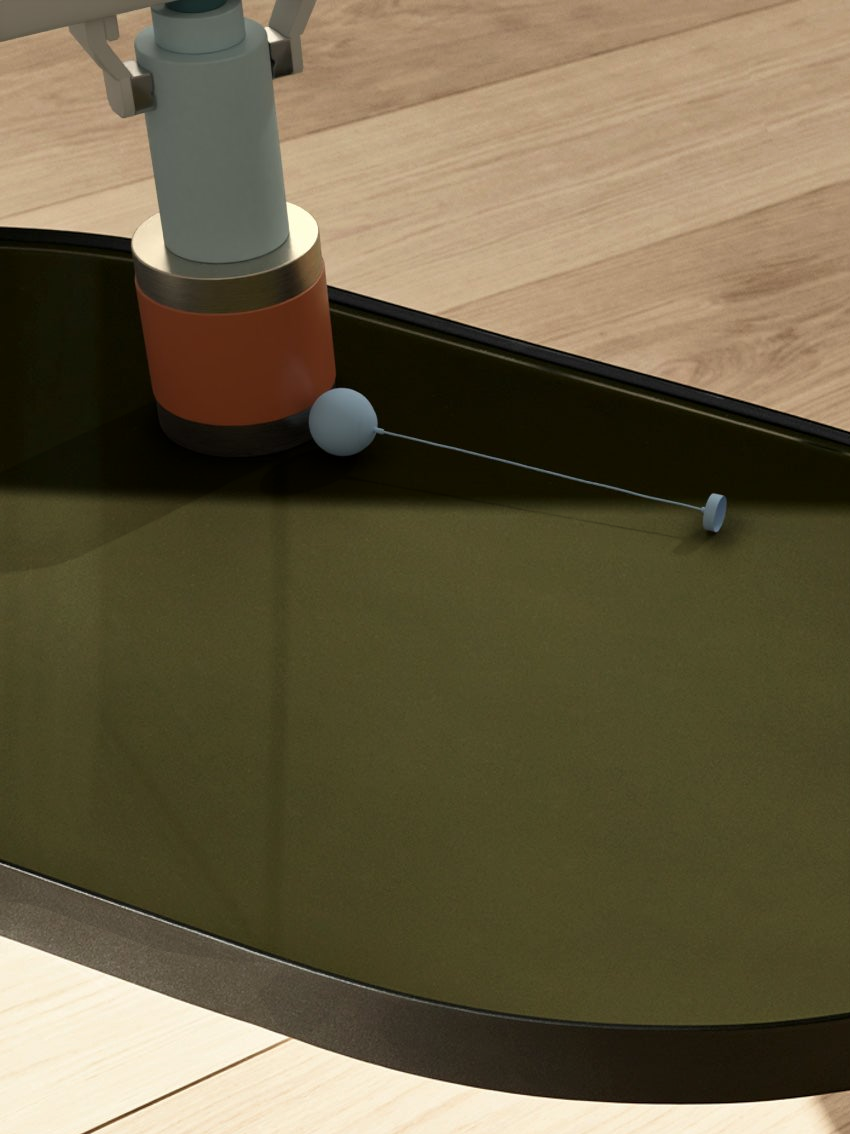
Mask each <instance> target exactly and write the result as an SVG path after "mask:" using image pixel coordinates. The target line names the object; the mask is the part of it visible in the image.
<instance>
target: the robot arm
mask: <svg viewBox="0 0 850 1134" xmlns="http://www.w3.org/2000/svg"><path fill="white" fill-rule="evenodd" d="M173 1H177V0H0V43H3V42H8V41H11V40H16V39H20V38H24V37H25V38H26V37H28V36H33V35H36V34H37V35H38V34H41V33H46V32H50V31H54V30H58V29H62V28H63V29H64V28H67V27H68V31H69V33H70V35H72V37H73V38H74V39H75V40H76V41H77V43H78V44H79V45H80V46H81V47H82V49H83V50H84V51H85V53H87V55H88V56H89V57H90V58H91V59H92V60H93V62H94V63H95V64H96V66H98V68H100V69H101V70H102V75H103V81H104V85H105V92H106V93H105V94H106V99H107V102H108V104H109V106H110V108H111V110H112V112H114V113H115V114H116V115H117V116H119V118H121V119H127V118H132V117H135V116H138V115H142V114H144V113H145V112H149V111H153V110H155V108H156V102H155V98H154V97H153V96H152V95H151V92H152V90H153V82H152V76H151V72H149V71H148V70H146V69H145V68H143V67H140V64H139V63H138V62H137V61H136V59H129V60H124V61H122V60H121V59H120V57H119V56H118V55H117V53H116V52H115V51H114V50H113V48H111V46H110V45H109V44H108V42H114V41H117V40H119V38H120V30H119V29H120V28H119V24H118V15H122V14H125V13H130V12H134V11H138V10H142V9H148V8H150V7H151V6H156V5H160V4H164V3H168V2H173ZM316 3H317V0H275V2H274V5H273V9H272V11H271V15H270V16H269V17H270V18H269V21H268V24H267V26H263V27H264V28H265V30H266V32H267V36H268V45H269V54H270V62H271V71H272V80H273V81H276V80H279V79H283V78H287V77H291V76H294V75H295V76H296V75H299V74H302V73H303V72H304V66H305V65H304V59H303V48H302V38H301V35H304V32H305V30H306V28H307V25H308V22H309V20H310V17H311V15H312V13H313V11H314V8H315V5H316ZM107 41H108V42H107Z"/></svg>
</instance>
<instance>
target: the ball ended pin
mask: <svg viewBox="0 0 850 1134" xmlns="http://www.w3.org/2000/svg"><path fill="white" fill-rule="evenodd" d="M378 424H379V423H378V417H377V414H376V411H375V410H374V407H373V405H372V404H371V402H370V401H369V399H367V398H366V396H364V395H363V394H362V393H360V392H358V391H356V390H354V389H351V388H346V387H338V388H337V387H336V389H332V390H330V391H327V392H325V393H324V394H322V395H321V396H320V397H319V398H318V399H317V400H316V401H315V403H314V404H313V406H312V408H311V411H310V414H309V428H310V432H311V435H312V437H313V439H312V440H314V442H315V443H316V445H317V446H318V447H319V448H321V449H322V450H323V451H325V452H326V453H328V454H330V455H332V456H337V457H350V456H353V455H356V454H359V453H360V452H362V451H363V450H365V449H366V448H367V447H368V446H369V445H371V443H372V442H373V441H374V440H375V437H376V435H377V434H379V435H384V434H385V435H386V434H387V435H390V436H393V437H398V438H403V439H405V440H406V439H407V440H411V441H416V442H421V443H423V444H427V445H431V446H435V447H439V448H443V449H444V448H445V449H449V450H454V451H458V452H462V453H465V454H469V455H473V456H478V457H481V458H486V459H488V460H489V459H490V460H494V461H498V462H502V463H506V464H509V465H513V466H517V467H522V468H525V469H529V470H534V471H536V472H541V473H544V474H549V475H553V476H557V477H560V478H564V479H568V480H572V481H576V482H580V483H584V484H588V485H593V486H598V487H602V488H606V489H609V490H614V491H618V492H622V493H627V494H630V495H633V496H637V497H641V498H644V499H648V500H653V501H657V502H663V503H668V504H672V505H676V506H677V505H678V506H681V507H686V508H689V509H694V510H698V511H700V513H703V516H702V527H703V529H704V530H706V531H709V532H713V533H718V532H719V531H720V529H721V527H722V525H723V523H724V520H725V517H726V512H727V505H728V504H727V497H726V496H725V495H722V494H718V493H711V494H710V496H709V497H708V499H707V501H706V504H705V506H701V507H697V506H693V505H691V504H686V503H681V502H677V501H673V500H667V499H662V498H658V497H655V496H650V495H645V494H640V493H637V492H633V491H630V490H626V489H622V488H619V487H615V486H612V485H611V486H610V485H607V484H602V483H597V482H593V481H588V480H584V479H580V478H576V477H572V476H569V475H564V474H561V473H556V472H553V471H549V470H544V469H541V468H537V467H533V466H528V465H525V464H521V463H518V462H514V461H510V460H506V459H501V458H497V457H495V456H494V457H493V456H489V455H486V454H481V453H477V452H474V451H471V450H470V451H469V450H465V449H462V448H457V447H454V446H450V445H449V446H448V445H445V444H439V443H436V442H432V441H428V440H423V439H419V438H415V437H411V436H407V435H403V434H397V433H394V432H390V431H385V429H383V428H380V427H378Z"/></svg>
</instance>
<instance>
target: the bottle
mask: <svg viewBox="0 0 850 1134" xmlns="http://www.w3.org/2000/svg"><path fill="white" fill-rule="evenodd" d="M149 8H150V14H151V21H152V24H150V25H148V26H146V27H145V28H143V29H142V30H141V31H139V33H137V35H136V36H135V38H134V41H133V47H134V53H135V61H136V62H138V63H139V64H140V67H143V68H145V69H146V70H148V71H149V72H151V76H152V82H153V90H152V92H151V95H152V96H153V97H154V98H155V102H156V108H155V110H153V111H149V112H145V113H143V114H144V119H145V126H146V132H147V133H146V134H147V139H148V146H149V152H150V160H151V166H152V171H153V179H154V186H155V191H156V198H157V205H158V212H160V219H161V226H162V232H163V239H164V243H165V245H166V247H167V248H168V249H169V250H170V251H171V252H173V253H174V254H176V255H178V256H180V257H182V258H185V259H188V260H192V261H197V262H204V263H231V262H239V261H244V260H249V259H253V258H256V257H260V256H262V255H265V254H267V253H269V252H271V251H273V250H275V249H276V248H278V247H279V246H281V245H282V244H283V243H284V242H285V240H286V239H287V237H288V234H289V221H288V212H287V204H286V201H287V197H286V187H285V179H284V178H285V177H284V167H283V161H282V151H281V143H280V134H279V126H278V115H277V107H276V99H275V90H274V89H275V88H274V80H272V71H271V62H270V54H269V45H268V36H267V32H266V30H265V28H264V27H265V26H263V25H262V24H261V23H259V22H257V21H256V20H254V19H252V18H248V17H246V16H244V15H245V14H244V7H243V1H242V0H177V1H173V2H168V3H164V4H160V5H156V6H151V7H149Z"/></svg>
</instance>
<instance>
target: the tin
mask: <svg viewBox="0 0 850 1134" xmlns="http://www.w3.org/2000/svg"><path fill="white" fill-rule="evenodd" d="M286 204H287V212H288V221H289V234H288V237H287V239H286V240H285V242H284V243H283V244H282V245H281V246H279V247H278V248H276V249H275V250H273V251H271V252H269V253H267V254H265V255H262V256H260V257H256V258H253V259H249V260H244V261H239V262H231V263H204V262H197V261H192V260H188V259H185V258H182V257H180V256H178V255H176V254H174V253H173V252H171V251H170V250H169V249H168V248H167V247H166V245H165V243H164V239H163V232H162V226H161V219H160V212H159V211H158V212H156V213H154V214H153V215H151V216H149V217H148V218H147V219H145V220H144V221H142V223H140V224H139V225H138V227H136V229H135V230H134V233H133V234H132V237H131V240H130V250H131V255H132V261H133V262H132V263H133V268H134V283H135V284H134V285H135V291H136V298H137V302H138V310H139V315H140V321H141V322H140V323H141V329H142V333H143V334H142V335H143V340H144V346H145V352H146V359H147V364H148V372H149V376H150V382H151V384H150V385H151V388H152V394H153V396H154V398H155V403H156V409H157V414H158V415H157V416H158V422H159V426H160V427H161V430H162V432H163V433H164V434H165V435H166V437H167V438H168V439H169V440H170V441H172V442H173V443H174V444H176V445H178V446H180V447H182V448H184V449H186V450H188V451H191V452H194V453H197V454H202V455H206V456H213V457H218V458H253V457H254V458H255V457H260V456H261V457H262V456H268V455H273V454H278V453H281V452H285V451H289V450H291V449H294V448H297V447H299V446H302V445H304V444H305V443H307V442H310V441H311V440H314V439H313V437H312V435H311V432H310V428H309V414H310V411H311V408H312V406H313V404H314V403H315V401H316V400H317V399H318V398H319V397H320V396H321V395H322V394H324V393H325V392H327V391H330V390H332V389H337V385H336V377H337V369H336V360H335V359H336V358H335V350H334V341H333V331H332V322H331V311H330V303H329V292H328V283H327V274H326V264H325V259H324V257H323V253H322V252H323V251H322V242H321V234H320V233H321V232H320V227H319V224H318V222H317V220H316V219H315V218H314V216H313V215H312V214H311V213H310V212H309V211H307V210H306V209H304V208H303V207H301V206H299V205H297V204H294V203H291V202H289V201H287V200H286Z"/></svg>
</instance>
